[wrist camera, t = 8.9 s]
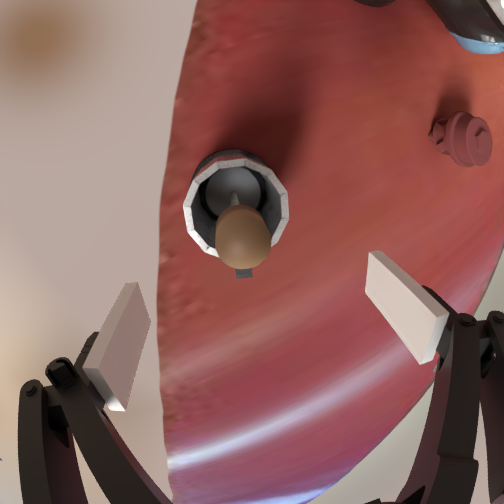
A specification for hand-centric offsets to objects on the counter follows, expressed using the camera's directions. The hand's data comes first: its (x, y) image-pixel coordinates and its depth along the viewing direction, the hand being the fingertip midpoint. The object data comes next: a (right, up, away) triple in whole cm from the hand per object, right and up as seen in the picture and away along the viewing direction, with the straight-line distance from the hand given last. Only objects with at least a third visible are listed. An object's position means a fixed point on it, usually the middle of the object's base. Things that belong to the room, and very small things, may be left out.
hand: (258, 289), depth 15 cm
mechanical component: (+36, +24, +26) cm, 51 cm away
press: (-3, +10, +28) cm, 30 cm away
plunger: (-3, +11, +26) cm, 28 cm away
